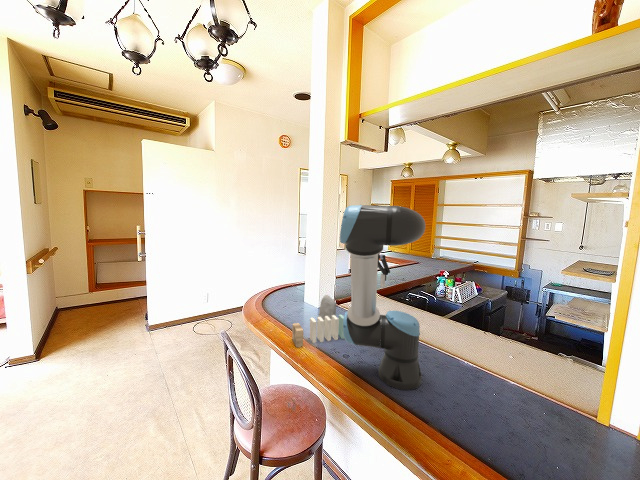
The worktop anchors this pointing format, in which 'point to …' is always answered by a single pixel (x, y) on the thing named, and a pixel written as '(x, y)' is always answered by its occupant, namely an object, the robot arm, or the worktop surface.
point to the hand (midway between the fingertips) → (370, 288)
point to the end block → (297, 334)
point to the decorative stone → (327, 307)
